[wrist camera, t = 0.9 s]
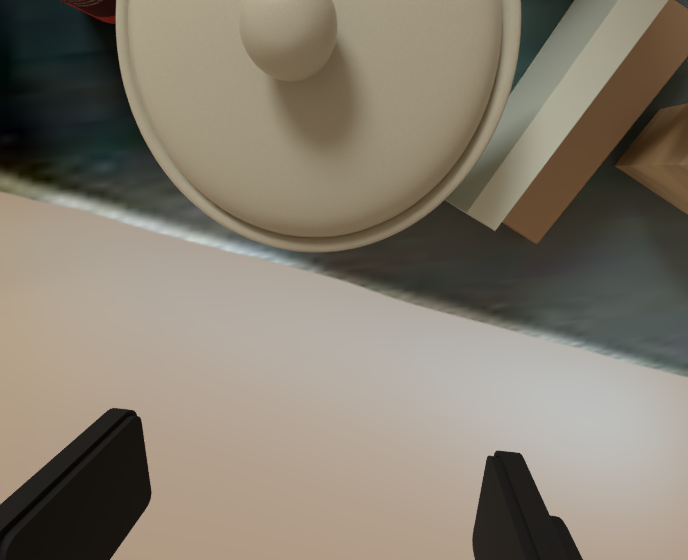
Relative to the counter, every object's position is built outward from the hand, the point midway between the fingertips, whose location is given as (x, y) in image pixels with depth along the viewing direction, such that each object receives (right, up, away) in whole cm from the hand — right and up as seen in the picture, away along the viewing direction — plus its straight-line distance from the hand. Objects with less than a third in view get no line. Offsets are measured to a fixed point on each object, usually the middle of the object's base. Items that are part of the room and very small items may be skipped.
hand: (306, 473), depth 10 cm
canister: (+1, +20, +23) cm, 30 cm away
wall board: (+18, +18, +21) cm, 33 cm away
